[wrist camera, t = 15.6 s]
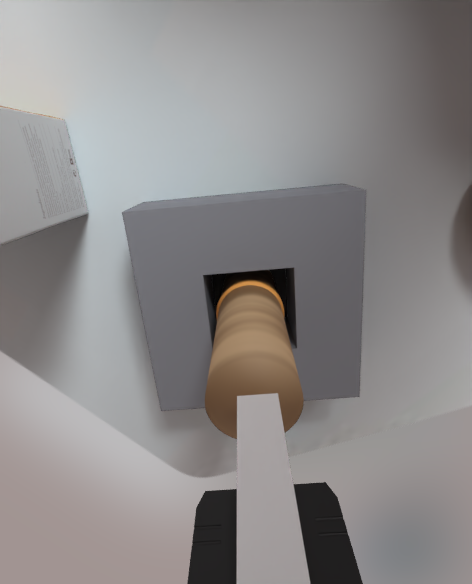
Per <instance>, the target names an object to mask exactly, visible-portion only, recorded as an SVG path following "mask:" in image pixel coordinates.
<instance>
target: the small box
mask: <svg viewBox="0 0 472 584" xmlns="http://www.w3.org/2000/svg"><path fill="white" fill-rule="evenodd" d="M87 214H88V209H87V205H86V201H85V197H84V193H83V189H82V185H81V181H80V177H79V174H78V170H77V166H76V162H75V158H74V154H73V150H72V146H71V143H70V139H69V135H68V131H67V127H66V123H65V120H63V119H60V118H55V117H51V116H46V115H41V114H35V113H30V112H26V111H21V110H17V109H12V108H7V107H3V106H0V246H1V245H3V244H6V243H9V242H12V241H15V240H17V239H20V238H23V237H25V236H28V235H31V234H34V233H36V232H38V231H41V230H44V229H46V228H49V227H52V226H54V225H57V224H60V223H63V222H66V221H69V220H72V219H75V218H78V217H81V216H83V215H87Z"/></svg>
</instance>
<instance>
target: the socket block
mask: <svg viewBox="0 0 472 584" xmlns="http://www.w3.org/2000/svg"><path fill="white" fill-rule="evenodd" d="M365 213H366V190H365V189H361V188H357V187H353V186H349V185H345V184H334V185H323V186H313V187H302V188H291V189H280V190H269V191H259V192H248V193H237V194H226V195H216V196H205V197H194V198H183V199H173V200H162V201H151V202H143V203H141V204H138V205H136V206H134V207H132V208H130V209H128V210H126V211H124V212H122V215H123V220H124V225H125V230H126V235H127V240H128V246H129V251H130V256H131V261H132V266H133V271H134V276H135V281H136V286H137V291H138V296H139V301H140V306H141V311H142V317H143V322H144V327H145V332H146V337H147V342H148V347H149V352H150V357H151V362H152V367H153V372H154V377H155V383H156V388H157V393H158V398H159V403H160V408H161V411H166V410H180V409H194V408H205V393H206V387H207V380H208V374H209V368H210V362H211V356H212V350H213V343H214V337H215V331H216V325H217V318H216V309H215V300H214V292H213V284H212V275H211V274H222V273H234V272H246V271H258V270H269V269H281V268H285V271H286V293H287V316H288V317H284V320H285V324H286V328H287V332H288V336H289V340H290V344H291V348H292V352H293V356H294V360H295V364H296V368H297V372H298V376H299V380H300V384H301V388H302V392H303V399H304V401H307V400H321V399H335V398H349V397H359V394H360V364H361V334H362V303H363V273H364V243H365Z"/></svg>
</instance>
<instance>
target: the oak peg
mask: <svg viewBox="0 0 472 584" xmlns="http://www.w3.org/2000/svg"><path fill="white" fill-rule="evenodd" d="M216 318H217V325H216V331H215V337H214V343H213V350H212V356H211V362H210V368H209V374H208V380H207V387H206V393H205V408H206V412H207V414H208V416H209V418H210V420H211V421H212V423H213V424H214V425H215V426H216V427H217V428H218V429H219V430H220V431H222V432H223V433H225V434H226V435H228V436H230V437H232V438H235V439H237V396H245V395H259V394H272V393H278V397H279V403H280V409H281V415H282V420H283V426H284V432H287V431H288V430H289V429H290V428H291V427H292V426H293V425H294V424H295V423H296V422H297V420H298V419H299V417H300V415H301V412H302V409H303V401H304V399H303V392H302V388H301V384H300V380H299V376H298V372H297V368H296V364H295V360H294V356H293V352H292V348H291V344H290V340H289V336H288V332H287V328H286V324H285V320H284V306H283V303H282V300H281V297H280V296H279V294H278V292H277V288H276V284H275V281H274V277H273V275H272V274H271V272H270V271H269V270H258V271H246V272H234V273H227V274H226V276H225V279H224V282H223V288H222V294H221V297H220V299H219V301H218V305H217V310H216Z"/></svg>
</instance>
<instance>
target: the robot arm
mask: <svg viewBox="0 0 472 584" xmlns="http://www.w3.org/2000/svg"><path fill="white" fill-rule="evenodd" d="M188 584H363V583H362V580H361V576H360V573H359V569H358V566H357V563H356V559H355V556H354V552H353V549H352V546H351V543H350V539H349V536H348V533H347V529H346V525H345V522H344V520H343V515H342V512H341V508H340V505H339V501H338V498H337V496H336V495H335V494H334V493H333V491H332V490H331V489H330V488H329V486H328V485H327V484H326V482H324V483H309V484H293V480H292V473H291V467H290V462H289V455H288V450H287V444H286V438H285V432H284V426H283V420H282V415H281V409H280V403H279V397H278V393H272V394H259V395H245V396H237V489H233V490H217V491H205V493H204V495H203V497H202V498H201V501H200V502H199V504H198V506H197V508H196V517H195V525H194V534H193V545H192V551H191V559H190V567H189V576H188Z"/></svg>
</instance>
